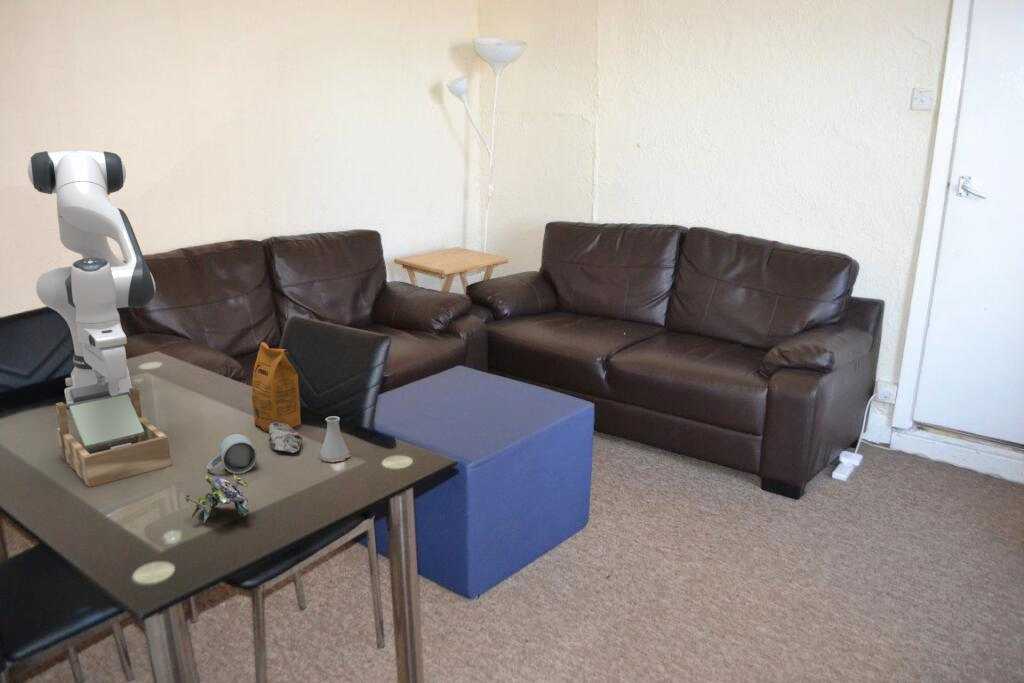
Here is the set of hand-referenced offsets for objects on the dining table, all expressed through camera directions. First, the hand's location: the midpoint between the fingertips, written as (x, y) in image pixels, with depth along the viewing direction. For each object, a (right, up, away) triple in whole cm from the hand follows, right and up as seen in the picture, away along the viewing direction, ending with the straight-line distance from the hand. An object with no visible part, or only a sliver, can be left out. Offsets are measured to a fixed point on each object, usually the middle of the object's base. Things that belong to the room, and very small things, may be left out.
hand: (107, 389), depth 188 cm
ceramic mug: (+28, -19, +2) cm, 34 cm away
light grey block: (+4, -13, 0) cm, 14 cm away
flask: (+50, -17, +8) cm, 54 cm away
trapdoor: (-4, -7, +7) cm, 11 cm away
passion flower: (+34, -25, -21) cm, 47 cm away
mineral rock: (+37, -15, +15) cm, 43 cm away
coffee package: (+31, -11, +28) cm, 43 cm away
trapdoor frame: (-1, -17, +6) cm, 18 cm away
